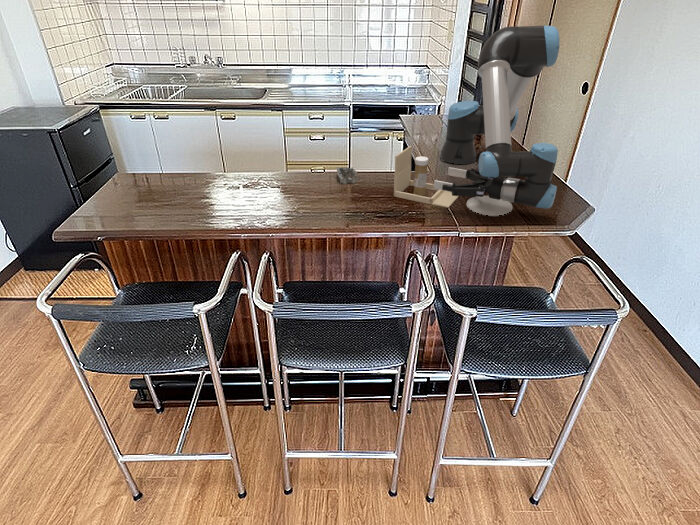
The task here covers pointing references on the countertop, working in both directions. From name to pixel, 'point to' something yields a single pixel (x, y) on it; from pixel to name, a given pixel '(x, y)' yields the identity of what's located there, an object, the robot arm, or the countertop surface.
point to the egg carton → (346, 175)
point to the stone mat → (489, 206)
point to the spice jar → (420, 175)
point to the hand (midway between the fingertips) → (441, 177)
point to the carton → (404, 181)
